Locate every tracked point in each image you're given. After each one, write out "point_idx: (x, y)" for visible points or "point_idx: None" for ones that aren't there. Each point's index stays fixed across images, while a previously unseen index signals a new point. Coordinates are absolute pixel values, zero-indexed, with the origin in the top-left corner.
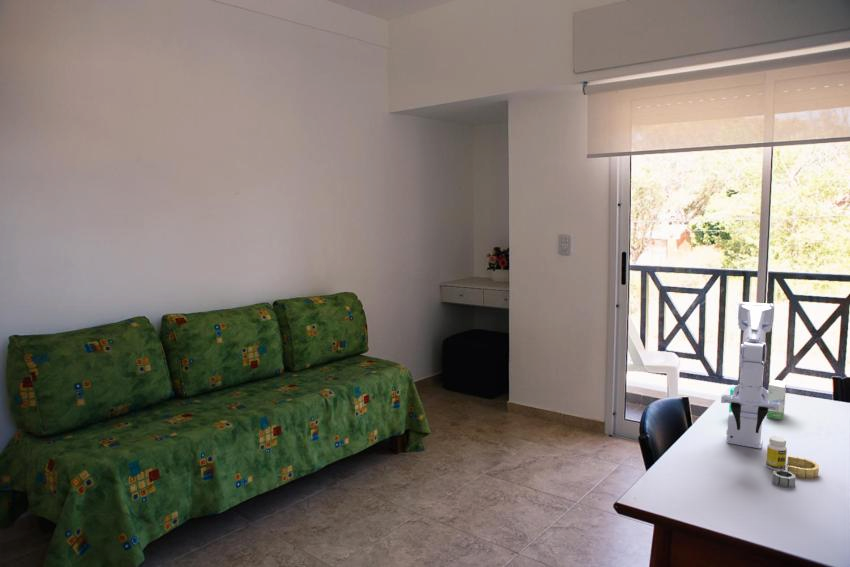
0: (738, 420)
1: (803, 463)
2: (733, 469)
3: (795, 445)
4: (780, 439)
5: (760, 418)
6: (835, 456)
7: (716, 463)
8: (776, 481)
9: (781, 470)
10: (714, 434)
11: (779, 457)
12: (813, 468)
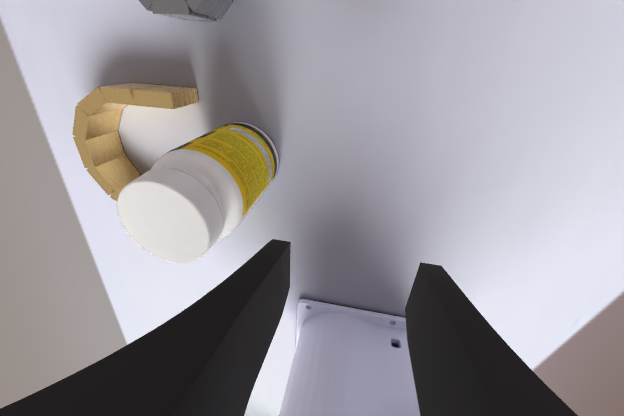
0: (476, 345)
1: None
2: (435, 32)
3: None
4: (147, 221)
5: (156, 361)
6: (122, 298)
7: (519, 83)
8: None
9: (182, 3)
10: None
11: (197, 138)
12: (84, 120)
